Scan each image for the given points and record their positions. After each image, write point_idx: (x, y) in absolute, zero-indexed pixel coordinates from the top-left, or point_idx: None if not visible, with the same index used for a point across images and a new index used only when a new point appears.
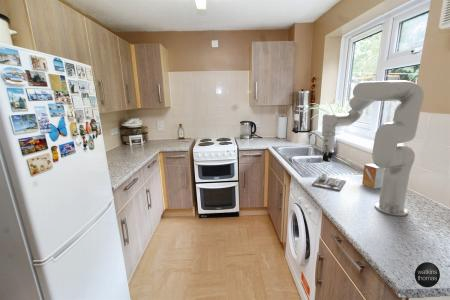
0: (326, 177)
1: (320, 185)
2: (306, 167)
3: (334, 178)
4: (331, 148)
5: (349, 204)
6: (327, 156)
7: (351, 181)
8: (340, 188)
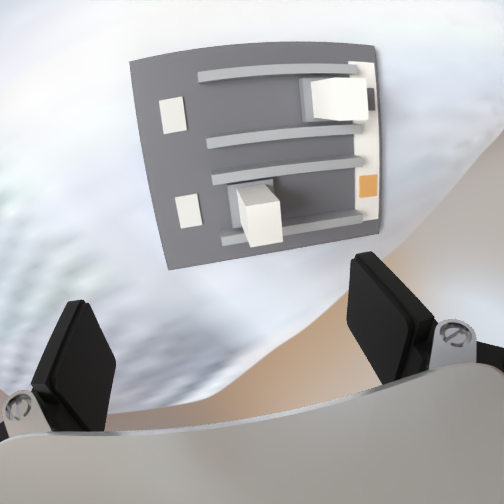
0: (242, 192)
1: (377, 177)
2: None
3: (365, 91)
4: (469, 472)
5: (473, 7)
6: (417, 313)
7: (83, 41)
8: (345, 44)
